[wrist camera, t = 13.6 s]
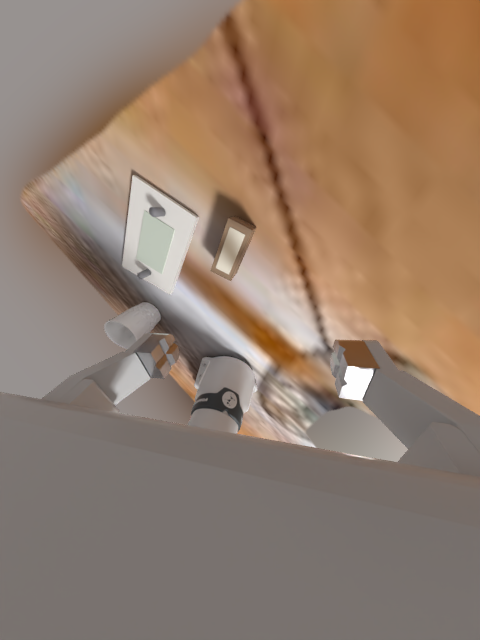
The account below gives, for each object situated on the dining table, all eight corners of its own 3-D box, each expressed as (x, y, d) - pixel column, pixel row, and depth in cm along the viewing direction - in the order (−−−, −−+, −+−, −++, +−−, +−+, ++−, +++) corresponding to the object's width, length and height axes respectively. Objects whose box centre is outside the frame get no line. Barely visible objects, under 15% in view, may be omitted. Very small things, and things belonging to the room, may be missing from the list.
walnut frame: (236, 272, 35) (230, 281, 31) (219, 263, 35) (210, 271, 31) (256, 227, 30) (252, 230, 26) (236, 216, 30) (228, 217, 26)
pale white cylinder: (163, 328, 48) (138, 353, 40) (137, 319, 49) (107, 342, 40) (162, 305, 44) (135, 328, 36) (134, 295, 44) (100, 315, 36)
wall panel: (172, 292, 41) (163, 299, 38) (125, 265, 40) (112, 270, 36) (199, 217, 31) (189, 218, 28) (137, 175, 29) (120, 172, 26)
